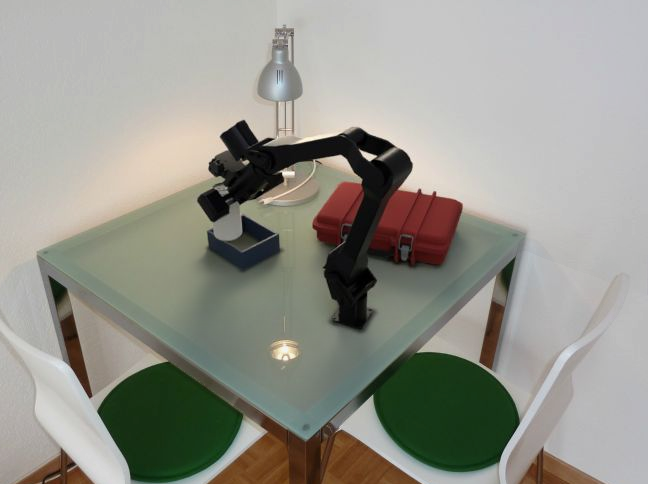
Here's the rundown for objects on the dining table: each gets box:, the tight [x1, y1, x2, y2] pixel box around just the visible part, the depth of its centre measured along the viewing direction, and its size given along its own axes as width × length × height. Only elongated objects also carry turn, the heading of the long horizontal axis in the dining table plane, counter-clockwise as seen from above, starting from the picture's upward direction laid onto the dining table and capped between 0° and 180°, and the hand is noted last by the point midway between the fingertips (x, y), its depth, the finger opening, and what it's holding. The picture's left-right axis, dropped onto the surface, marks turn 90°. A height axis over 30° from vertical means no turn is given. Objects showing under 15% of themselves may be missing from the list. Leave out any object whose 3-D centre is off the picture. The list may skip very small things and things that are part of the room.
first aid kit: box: [312, 181, 464, 267], centre depth 152 cm, size 32×23×9 cm
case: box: [206, 213, 281, 271], centre depth 149 cm, size 13×11×5 cm
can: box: [210, 181, 243, 242], centre depth 141 cm, size 6×6×12 cm
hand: (221, 207), depth 141 cm, fingers closed on can, 6 cm apart
